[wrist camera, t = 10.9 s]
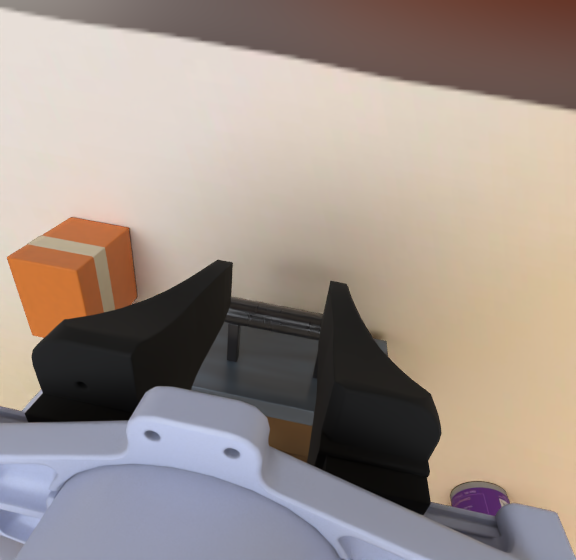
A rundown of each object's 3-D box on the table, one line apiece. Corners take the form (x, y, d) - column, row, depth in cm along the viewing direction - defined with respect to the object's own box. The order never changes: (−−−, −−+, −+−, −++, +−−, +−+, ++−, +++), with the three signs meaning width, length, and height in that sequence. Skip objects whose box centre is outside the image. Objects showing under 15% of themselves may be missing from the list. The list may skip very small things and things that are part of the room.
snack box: (70, 216, 25) (5, 256, 20) (129, 226, 25) (76, 270, 20) (85, 286, 28) (31, 335, 23) (137, 297, 28) (94, 348, 23)
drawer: (188, 248, 24) (134, 314, 18) (405, 288, 23) (420, 371, 17) (193, 425, 33) (159, 504, 28) (345, 458, 32) (342, 547, 27)
